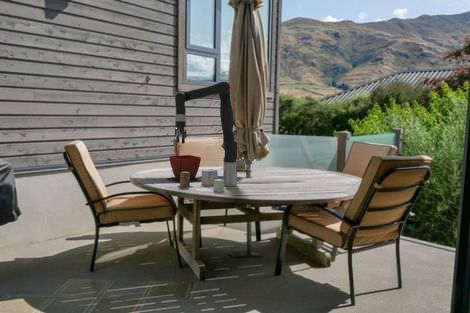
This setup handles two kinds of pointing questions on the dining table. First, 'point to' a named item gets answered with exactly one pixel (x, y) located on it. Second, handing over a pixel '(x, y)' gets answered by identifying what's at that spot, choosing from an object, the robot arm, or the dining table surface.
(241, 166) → the cookie jar
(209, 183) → the light bulb box
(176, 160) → the plant pot
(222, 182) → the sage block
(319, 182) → the dining table surface
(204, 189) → the lettered tile
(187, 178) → the walnut block
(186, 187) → the slate coaster
